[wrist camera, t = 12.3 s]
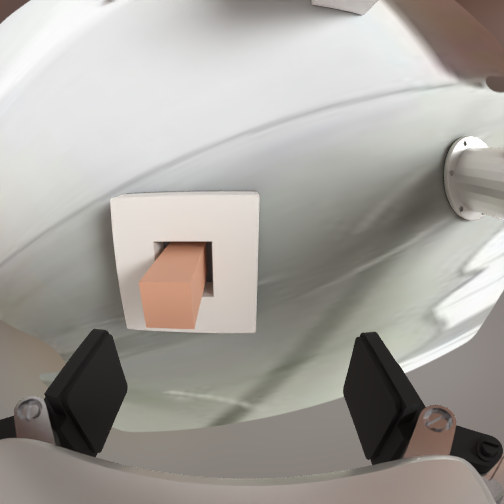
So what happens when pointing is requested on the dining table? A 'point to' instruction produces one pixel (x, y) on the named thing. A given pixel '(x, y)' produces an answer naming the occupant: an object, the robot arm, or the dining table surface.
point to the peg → (175, 286)
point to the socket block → (191, 229)
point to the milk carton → (347, 5)
